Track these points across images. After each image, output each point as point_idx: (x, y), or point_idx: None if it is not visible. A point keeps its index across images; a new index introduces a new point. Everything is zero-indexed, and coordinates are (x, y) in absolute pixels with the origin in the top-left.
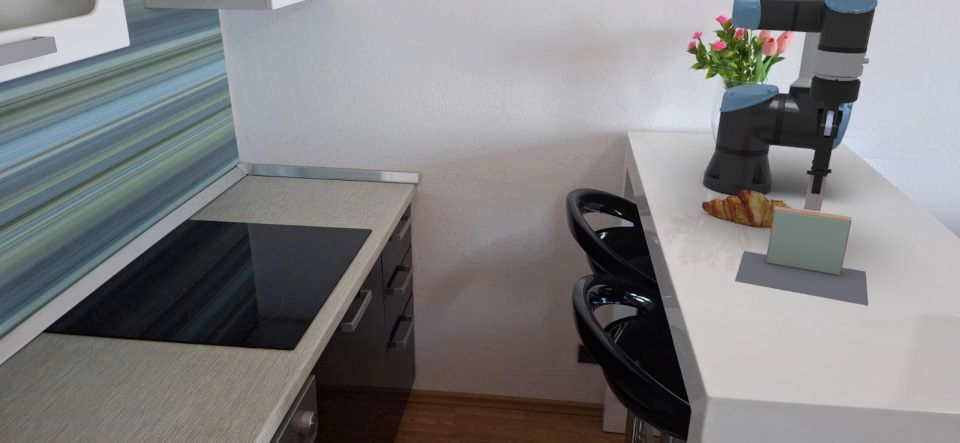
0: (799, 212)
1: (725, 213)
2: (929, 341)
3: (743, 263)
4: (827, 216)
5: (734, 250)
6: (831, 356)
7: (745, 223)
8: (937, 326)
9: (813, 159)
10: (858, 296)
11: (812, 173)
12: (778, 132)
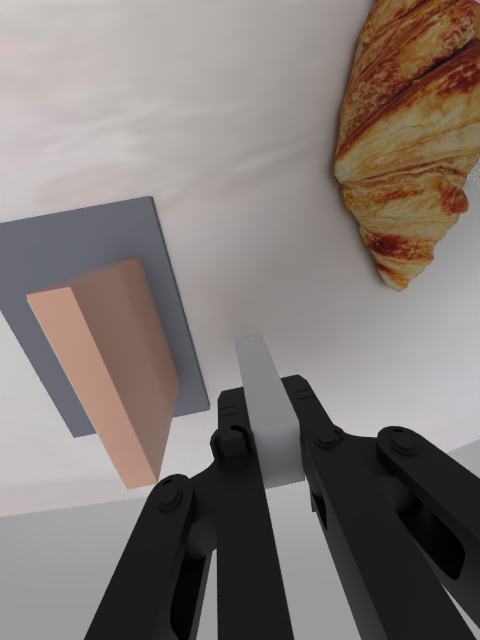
0: (73, 375)
1: (363, 51)
2: (48, 494)
3: (71, 218)
4: (109, 443)
5: (166, 167)
6: None
7: (338, 140)
8: (102, 492)
9: (400, 466)
10: None
11: (157, 488)
12: None
